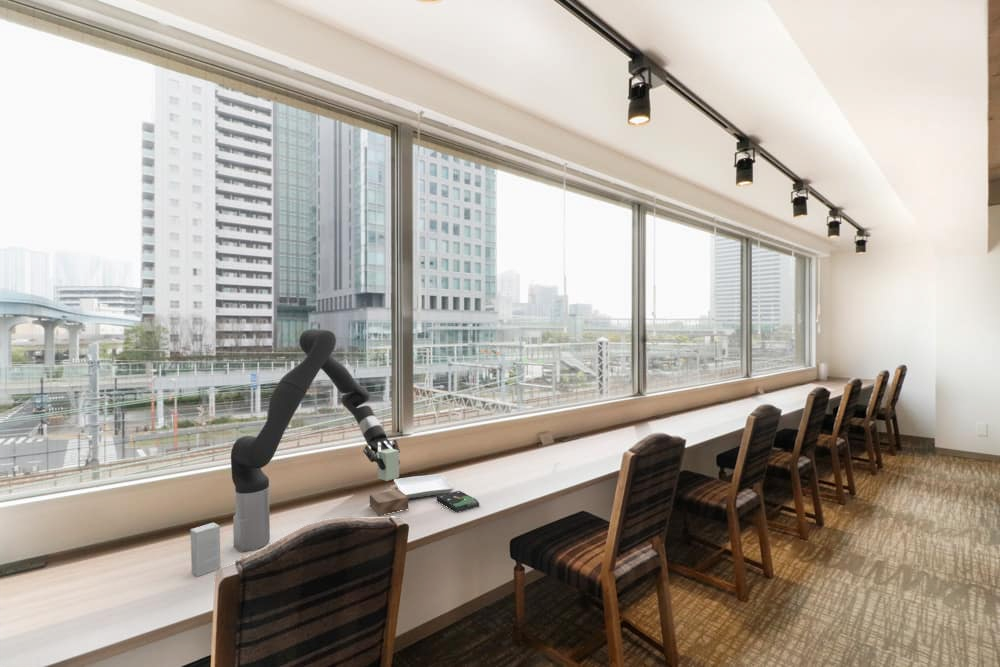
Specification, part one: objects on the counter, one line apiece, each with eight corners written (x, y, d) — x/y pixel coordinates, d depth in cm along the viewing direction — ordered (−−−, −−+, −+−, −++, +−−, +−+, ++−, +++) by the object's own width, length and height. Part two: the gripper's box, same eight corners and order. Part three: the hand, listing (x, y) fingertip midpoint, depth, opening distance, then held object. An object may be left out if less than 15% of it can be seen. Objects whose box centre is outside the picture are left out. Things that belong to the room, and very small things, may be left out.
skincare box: (215, 564, 133) (214, 521, 133) (221, 568, 131) (220, 525, 131) (190, 572, 129) (189, 528, 129) (196, 577, 126) (195, 532, 126)
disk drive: (436, 503, 181) (455, 514, 169) (436, 495, 181) (455, 506, 169) (459, 497, 187) (480, 507, 175) (459, 490, 187) (479, 500, 175)
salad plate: (454, 495, 188) (454, 487, 188) (401, 503, 180) (401, 494, 180) (441, 480, 208) (441, 472, 208) (393, 487, 200) (392, 479, 200)
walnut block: (378, 517, 167) (378, 503, 167) (369, 507, 176) (369, 494, 176) (408, 510, 173) (408, 497, 173) (398, 501, 182) (397, 489, 182)
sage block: (386, 480, 171) (386, 453, 171) (377, 477, 174) (377, 451, 174) (399, 477, 175) (398, 450, 175) (390, 474, 178) (389, 448, 178)
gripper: (359, 427, 174) (378, 465, 166) (391, 421, 185) (411, 457, 177) (351, 439, 178) (370, 477, 170) (384, 433, 188) (403, 468, 180)
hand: (391, 467), depth 173 cm, fingers closed on sage block, 5 cm apart
